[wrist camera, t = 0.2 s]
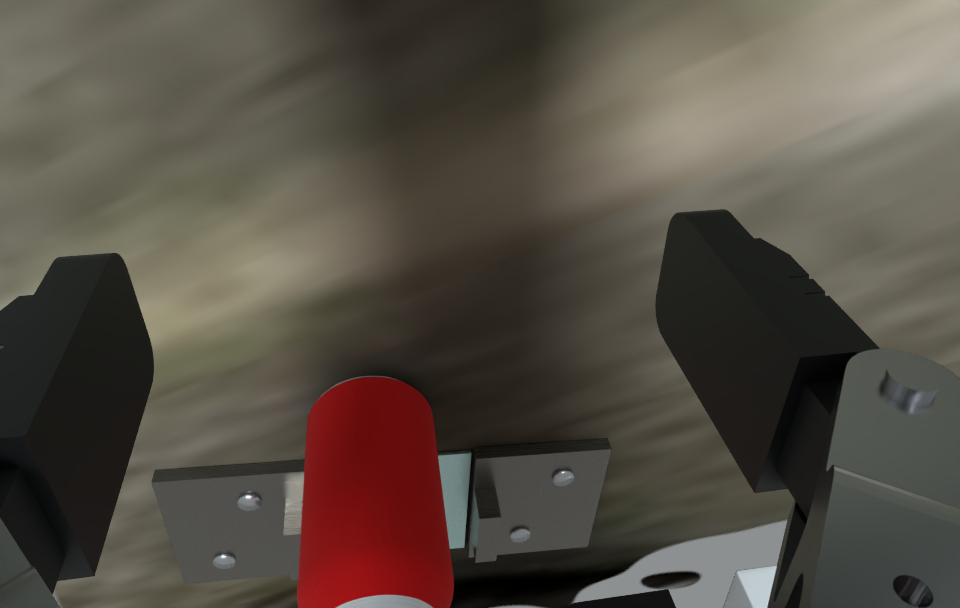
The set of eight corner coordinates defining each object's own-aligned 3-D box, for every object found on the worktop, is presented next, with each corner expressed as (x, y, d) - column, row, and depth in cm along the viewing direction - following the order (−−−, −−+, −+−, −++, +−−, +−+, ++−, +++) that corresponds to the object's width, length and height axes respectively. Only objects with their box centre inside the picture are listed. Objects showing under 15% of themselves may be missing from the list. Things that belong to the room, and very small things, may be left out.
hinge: (154, 470, 38) (143, 515, 35) (607, 438, 41) (622, 478, 39) (187, 571, 43) (178, 616, 41) (584, 535, 47) (596, 575, 44)
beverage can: (291, 435, 38) (273, 670, 28) (332, 348, 34) (327, 579, 25) (402, 459, 40) (419, 683, 30) (450, 379, 37) (487, 601, 27)
